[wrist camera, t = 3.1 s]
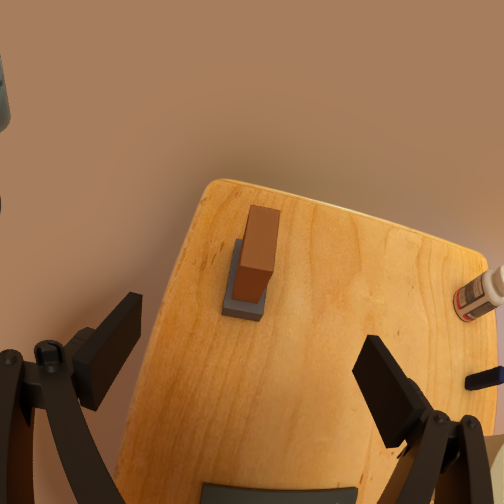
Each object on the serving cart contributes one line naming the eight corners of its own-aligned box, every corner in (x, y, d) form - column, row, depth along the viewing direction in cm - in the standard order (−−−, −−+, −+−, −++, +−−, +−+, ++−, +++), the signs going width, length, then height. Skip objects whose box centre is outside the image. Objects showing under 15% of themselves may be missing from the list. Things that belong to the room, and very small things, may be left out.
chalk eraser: (221, 314, 31) (228, 275, 22) (233, 249, 35) (244, 193, 26) (259, 321, 31) (281, 285, 22) (267, 256, 35) (289, 203, 26)
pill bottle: (478, 308, 36) (521, 282, 27) (466, 329, 34) (514, 305, 25) (460, 283, 38) (502, 253, 29) (448, 303, 35) (494, 273, 27)
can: (435, 510, 20) (500, 522, 10) (408, 477, 23) (479, 487, 13) (473, 460, 24) (537, 456, 13) (450, 424, 27) (520, 413, 16)
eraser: (474, 377, 30) (508, 366, 24) (472, 392, 29) (507, 383, 23) (465, 374, 30) (500, 363, 24) (463, 389, 29) (499, 380, 23)
